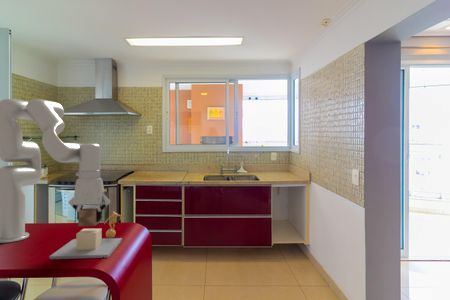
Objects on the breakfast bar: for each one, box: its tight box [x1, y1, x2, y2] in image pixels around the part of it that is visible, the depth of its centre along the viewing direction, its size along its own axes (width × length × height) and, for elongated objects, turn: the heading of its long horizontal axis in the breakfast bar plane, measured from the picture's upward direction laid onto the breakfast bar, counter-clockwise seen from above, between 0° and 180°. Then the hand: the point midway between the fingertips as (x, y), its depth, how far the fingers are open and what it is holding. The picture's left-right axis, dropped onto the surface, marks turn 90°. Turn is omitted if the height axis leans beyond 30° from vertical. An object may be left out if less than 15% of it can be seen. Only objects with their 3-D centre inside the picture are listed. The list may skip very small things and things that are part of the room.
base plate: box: [49, 227, 123, 260], centre depth 114 cm, size 20×20×7 cm
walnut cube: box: [78, 206, 101, 227], centre depth 114 cm, size 6×6×6 cm
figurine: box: [104, 210, 122, 238], centre depth 127 cm, size 8×6×12 cm
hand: (89, 220), depth 114 cm, fingers closed on walnut cube, 6 cm apart
